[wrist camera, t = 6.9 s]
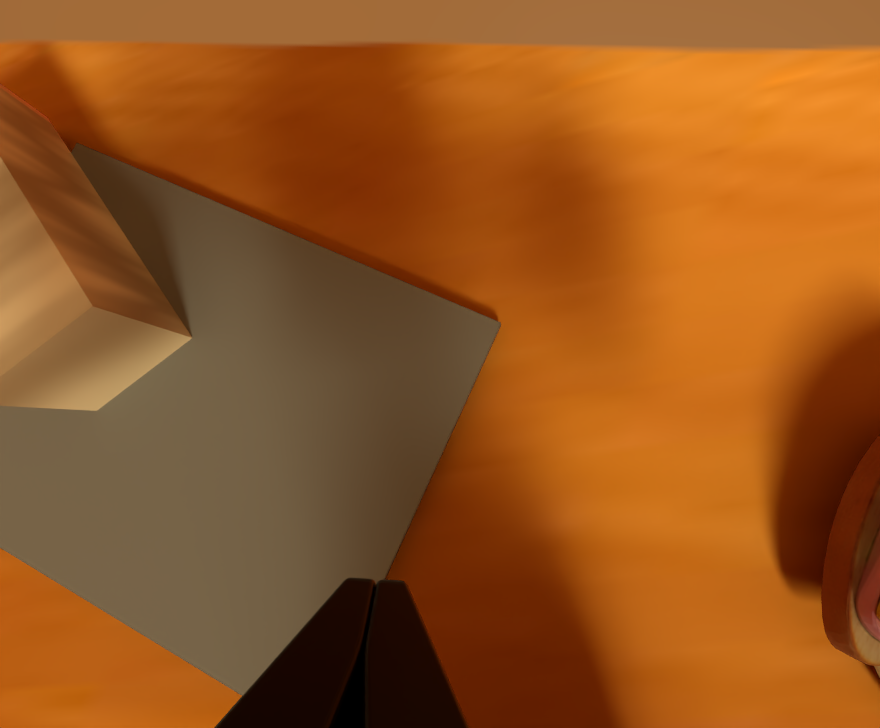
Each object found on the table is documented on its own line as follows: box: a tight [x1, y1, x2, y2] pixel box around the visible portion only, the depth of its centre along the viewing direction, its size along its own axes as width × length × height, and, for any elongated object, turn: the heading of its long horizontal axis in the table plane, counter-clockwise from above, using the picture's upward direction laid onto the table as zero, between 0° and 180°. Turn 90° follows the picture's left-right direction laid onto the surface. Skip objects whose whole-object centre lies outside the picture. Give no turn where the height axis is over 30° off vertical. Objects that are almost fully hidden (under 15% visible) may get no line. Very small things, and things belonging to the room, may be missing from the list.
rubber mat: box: [0, 143, 501, 696], centre depth 18 cm, size 15×19×1 cm
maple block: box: [0, 84, 192, 411], centre depth 16 cm, size 4×4×12 cm
